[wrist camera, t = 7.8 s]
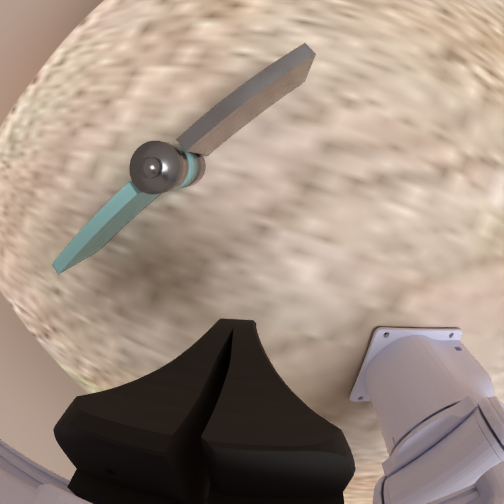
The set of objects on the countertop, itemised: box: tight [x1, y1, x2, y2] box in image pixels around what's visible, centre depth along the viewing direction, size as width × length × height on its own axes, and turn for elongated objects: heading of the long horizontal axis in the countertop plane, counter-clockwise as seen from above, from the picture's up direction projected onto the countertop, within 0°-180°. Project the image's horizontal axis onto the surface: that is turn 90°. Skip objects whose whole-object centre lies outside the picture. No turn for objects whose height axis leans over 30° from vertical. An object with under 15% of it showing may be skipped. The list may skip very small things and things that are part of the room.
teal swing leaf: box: [52, 144, 198, 275], centre depth 16 cm, size 11×3×5 cm, turn 125°
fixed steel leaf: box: [130, 43, 316, 195], centre depth 14 cm, size 11×3×6 cm, turn 129°
